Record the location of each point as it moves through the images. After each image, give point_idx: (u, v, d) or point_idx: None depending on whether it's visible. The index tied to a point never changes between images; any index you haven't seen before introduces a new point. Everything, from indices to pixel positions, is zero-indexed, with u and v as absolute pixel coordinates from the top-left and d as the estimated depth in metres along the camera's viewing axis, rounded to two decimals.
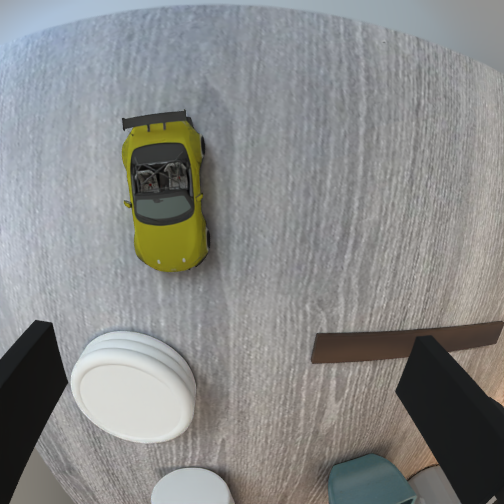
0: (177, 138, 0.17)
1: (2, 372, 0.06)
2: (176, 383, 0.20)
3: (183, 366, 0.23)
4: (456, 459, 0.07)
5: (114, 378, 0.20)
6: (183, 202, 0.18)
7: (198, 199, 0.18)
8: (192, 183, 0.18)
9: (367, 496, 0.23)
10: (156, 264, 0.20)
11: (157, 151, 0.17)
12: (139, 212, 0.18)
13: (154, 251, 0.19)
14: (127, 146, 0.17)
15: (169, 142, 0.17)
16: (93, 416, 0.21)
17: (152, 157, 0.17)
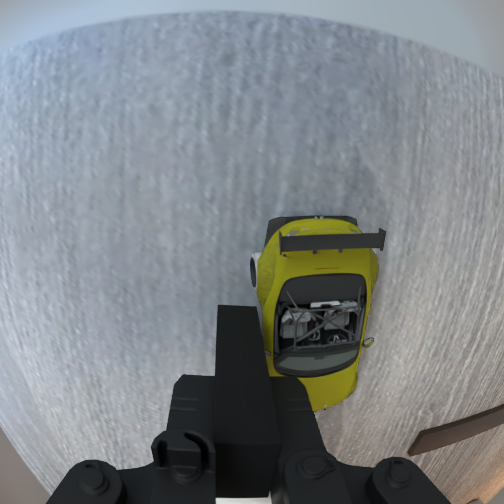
0: (357, 267, 0.11)
1: (230, 352, 0.09)
2: None
3: None
4: None
5: None
6: (351, 354, 0.12)
7: (367, 346, 0.12)
8: (362, 326, 0.12)
9: None
10: None
11: (325, 285, 0.11)
12: (283, 365, 0.12)
13: None
14: (272, 270, 0.11)
15: (345, 273, 0.11)
16: None
17: (316, 294, 0.11)
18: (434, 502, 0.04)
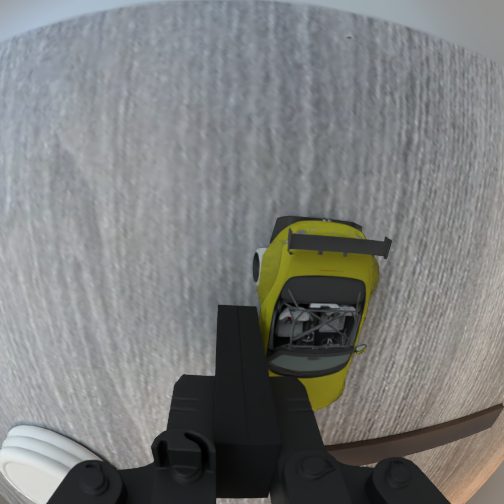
0: (359, 273, 0.11)
1: (230, 352, 0.09)
2: None
3: None
4: None
5: (30, 474, 0.13)
6: (343, 359, 0.12)
7: (359, 353, 0.12)
8: (357, 332, 0.12)
9: None
10: None
11: (326, 287, 0.11)
12: (275, 362, 0.12)
13: None
14: (276, 267, 0.11)
15: (347, 277, 0.11)
16: (27, 494, 0.14)
17: (317, 295, 0.11)
18: (434, 502, 0.04)
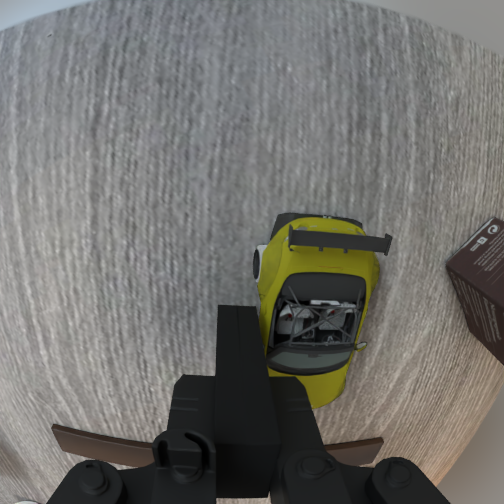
0: (359, 269, 0.11)
1: (231, 352, 0.09)
2: None
3: None
4: None
5: None
6: (344, 356, 0.12)
7: (360, 350, 0.12)
8: (357, 329, 0.12)
9: None
10: None
11: (327, 284, 0.11)
12: (275, 360, 0.12)
13: None
14: (276, 263, 0.11)
15: (347, 274, 0.11)
16: None
17: (317, 292, 0.11)
18: (434, 502, 0.04)
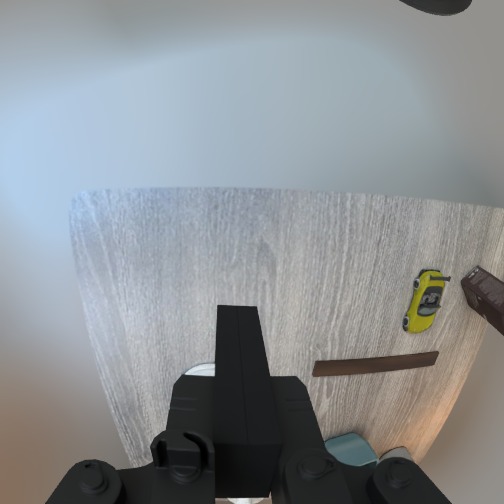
0: (441, 285, 0.38)
1: (230, 352, 0.09)
2: None
3: None
4: None
5: None
6: (435, 309, 0.39)
7: None
8: (438, 301, 0.39)
9: (347, 458, 0.42)
10: (413, 330, 0.41)
11: (434, 289, 0.38)
12: (419, 311, 0.39)
13: (416, 326, 0.40)
14: (424, 284, 0.38)
15: (439, 286, 0.38)
16: None
17: (432, 291, 0.38)
18: (435, 502, 0.04)
